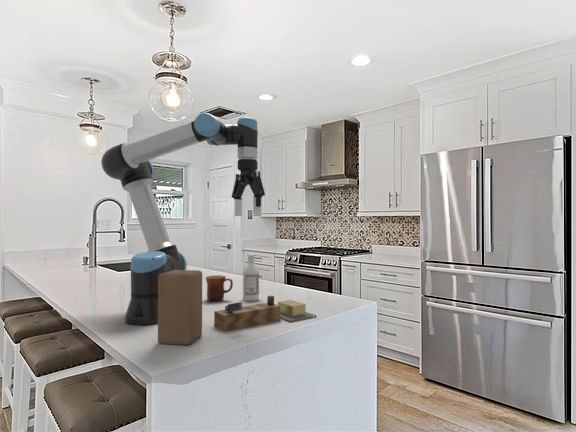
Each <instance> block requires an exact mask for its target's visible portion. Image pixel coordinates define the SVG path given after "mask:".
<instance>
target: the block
mask: <svg viewBox="0 0 576 432" xmlns="http://www.w3.org/2000/svg"><path fill="white" fill-rule="evenodd" d="M202 334H203V271H201V270H198V269H197V270H196V269H195V270H194V269H186V270H172V271H169V272H165V273H162V274H159V276H158V323H157V343H159V344H164V345H165V344H167V345H178V346H179V345H180V346H181V345H182V346H189V345H191V344H192V343H193V342H195V341H196V340H197V339H198V338H200V337H201V336H202Z"/></svg>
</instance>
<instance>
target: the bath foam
mask: <svg viewBox="0 0 576 432" xmlns="http://www.w3.org/2000/svg"><path fill="white" fill-rule="evenodd" d="M255 255H256V254H255V253H249V254H247V263H246V264H245V267H244V268H243V271H242V274H243V277H242V281H243V282H242V292H243V293H242V299H243V301H246V302H255V301H256V302H257V301H258V300H260V272H259V268H258V266H257V264H256V262H255Z"/></svg>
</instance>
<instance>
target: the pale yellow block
mask: <svg viewBox="0 0 576 432" xmlns="http://www.w3.org/2000/svg"><path fill="white" fill-rule="evenodd" d="M277 305H279V306H280V314H283V315H286V316H289V317H292V318H294V317H299V316H304V315H305V312H306V303H303V302H299V301H296V300H292V299H288V300H281V301H277Z"/></svg>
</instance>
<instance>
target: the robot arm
mask: <svg viewBox="0 0 576 432" xmlns="http://www.w3.org/2000/svg"><path fill="white" fill-rule="evenodd" d="M258 134H259V129H258V121H257V120H256V118H253V117H240V118H238V119H237V123H235V124H224V123H223V122H222V121H221V120H220V119H218V118H217V116H214V115H213V114H211V113H208V112H203V113H199V114H198V115H197V116H196V118H195V119H194V120H192V121H190V122H188V123H187V122H186V123H184V124H182V125H179V126H176V127H173V128H171V129H168V130H164V131H162V132H159V133H156V134H154V135H151V136H148V137H146V138H143V139H139V140H137V141H135V142H131V143H129V142H123V143H120V144H118V145H117V144H116V145H115V146H112V147H110V148H109V149H107V150H106V151H105V152H104V154H103V155H102V156H101V157H102V158H101V163H100V164H101V168H102V170H103V172H104V173H105V174H106V175H107V176H108V177H110V178H111V179H114V180H119V181H120V184H121V186H122V190H123V191H126V192H127V193H128V194H129V197H130V201H131V202H132V205H133V208H134V212H135V214H136V217H137V220H138V223H139V225H140V229H141V232H142V234H143V237H144V240H145V243H146V246H147V251H146V252H139V253H137V254H135V255H133V256H132V258H131V261H130V299H129V303H128V306H127V309H126V311H125V316H124V321H125V323H126V324H128V325H133V326H144V325H145V326H146V325H155V324H158V276H159V274H162V273H165V272H169V271H172V270H187V268H188V267H187V265H188V263H187V259H186V257H185V255H184V254H182V253H181V252H179V251H178V247H177V245H176V244H175V243H173V242H171V240H170V237H169V234H168V231H167V228H166V225H165V222H164V220H163V217H162V214H161V211H160V209H159V205H158V202H157V200H156V197H155V194H154V191H153V189H152V185H153V183H154V179H153V174H154V165H153V163H152V161H151V160H154V159H157V158H161V157H162V156H165V155H168V154H171V153H173V152H176V151H179V150H183V149H184V148H185V149H186V148H187V147H191V146H194V145H196V144H199V143H202V142H205V141H206V142H207V144H208V145H209V146H231V145H233V146H234V145H235V146H236V145H237V157H236V158H237V159H238V160H237V170H238V171H240V173H236V174H235V180H234V185H233V190H232V191H231V193H232V194H231V198H233V200H234V217H242V216H243V198H242V196H243V194H244V192H245V189H246V187H247V186H248V185H249V188H250V190H251V192H252V194H253V199H252V201H253V203H252V206H253V208H252V211H253V213H252V217H261V215H262V212H261V211H262V208H261V207H262V197H265V195H266V193H265V189H264V186H263V181H262V178H261V171H260V170H258V168H259V167H258V138H259V137H258V136H259V135H258Z"/></svg>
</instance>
